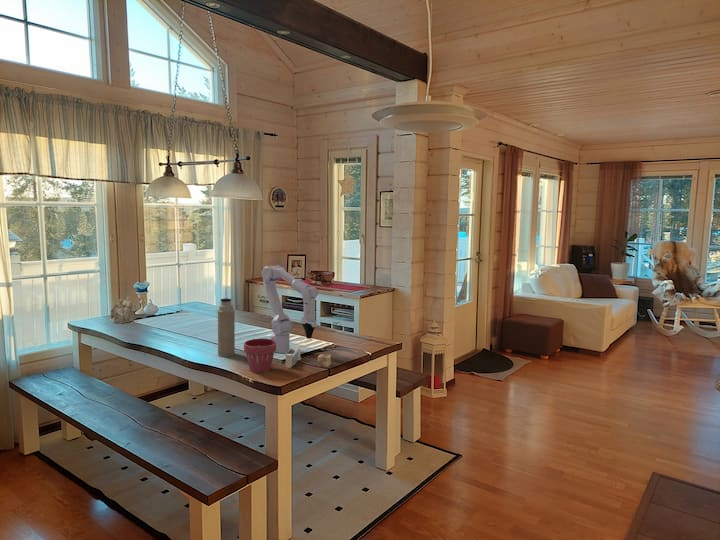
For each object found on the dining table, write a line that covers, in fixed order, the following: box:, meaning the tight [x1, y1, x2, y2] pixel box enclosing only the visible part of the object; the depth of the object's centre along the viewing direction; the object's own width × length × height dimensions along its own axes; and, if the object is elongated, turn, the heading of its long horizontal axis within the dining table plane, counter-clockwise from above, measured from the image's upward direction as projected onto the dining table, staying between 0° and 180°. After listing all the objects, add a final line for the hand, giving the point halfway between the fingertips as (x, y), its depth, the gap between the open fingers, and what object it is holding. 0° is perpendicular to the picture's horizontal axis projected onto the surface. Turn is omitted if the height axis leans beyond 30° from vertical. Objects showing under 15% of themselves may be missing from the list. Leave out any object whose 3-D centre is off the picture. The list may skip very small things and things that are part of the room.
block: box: [317, 353, 332, 368], centre depth 233 cm, size 5×5×4 cm
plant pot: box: [243, 338, 276, 374], centre depth 223 cm, size 14×14×13 cm
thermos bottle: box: [217, 297, 236, 358], centre depth 243 cm, size 8×8×28 cm
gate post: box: [294, 348, 302, 361], centre depth 241 cm, size 4×4×5 cm
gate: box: [291, 350, 299, 367], centre depth 234 cm, size 9×1×4 cm, turn 173°
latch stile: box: [285, 353, 293, 369], centre depth 231 cm, size 3×7×6 cm, turn 168°
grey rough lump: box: [108, 296, 135, 325], centre depth 309 cm, size 16×16×15 cm
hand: (308, 338), depth 244 cm, fingers closed
